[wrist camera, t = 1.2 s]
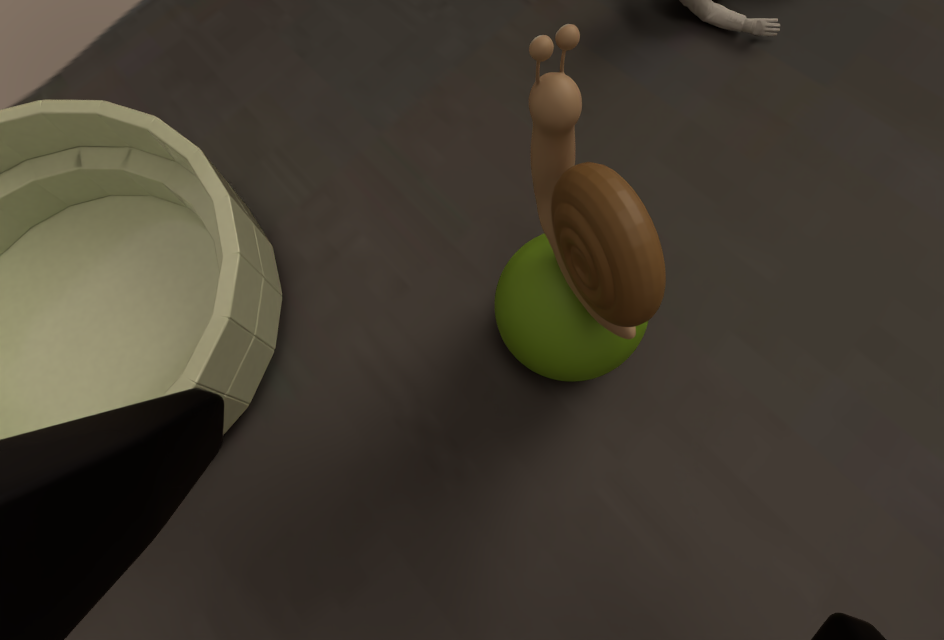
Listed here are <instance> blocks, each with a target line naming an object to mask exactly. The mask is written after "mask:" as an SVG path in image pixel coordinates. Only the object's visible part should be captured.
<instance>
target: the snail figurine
mask: <svg viewBox="0 0 944 640" xmlns="http://www.w3.org/2000/svg"><path fill="white" fill-rule="evenodd" d="M579 39H580V34H579V30H578V28H577V27H576V26H574V25H572V24H567V25H564V26H562V27H561V28H560V29H559V30H558V31H557V33H556V38H555V41H556V44H557V46H558V47H559V48H560V49H562V50H563V51H562V56H561V64H560V72H551V73H547V74H544V75H543V76H541V77H540V75H539V69H540V61H545V60H547V59H548V58H550V56H551V55H552V53H553V48H554V46H553V42H552V40H551V39H550V38H549V37H548V36H546V35H540V36H538V37H536V38H535V39H534V40H533V41H532V42H531V44H530V47H529V52H530V55H531V57H532V58H533V59H534V60H536V61H537V66H536V82H535V83H534V85H533V87H532V89H531V91H530V95H529V110H530V114H531V117H532V121H533V132H532V139H531V170H532V178H533V186H534V193H535V197H536V203H537V209H538V215H539V219H540V223H541V226H542V229H543V231H544V233H545V234H542V235H540V236H538V237H536V238H534V239H532V240H531V241H529V242H528V243H526V244H525V245H524V246H522V247H521V248H520V249H519V250H518V251H517V252H516V253H515V254H514V255H513V256H512V258H511V259H510V260H509V262H508V263H507V265H506V266H505V268H504V270H503V272H502V274H501V276H500V279H499V281H498V285H497V289H496V294H495V317H496V322H497V326H498V329H499V332H500V334H501V337H502V339H503V341H504V343H505V344H506V346H507V347H508V349H509V350H510V352H511V353H512V354H513V355H514V356H515V357H516V358H517V359H518V360H519V361H520V362H521V363H522V364H523V365H525V366H526V367H527V368H529V369H530V370H532V371H534V372H535V373H537V374H540V375H542V376H544V377H547V378H551V379H554V380H560V381H584V380H590V379H593V378H597V377H600V376H602V375H604V374H607V373H608V372H610V371H612V370H614V369H615V368H617V367H618V366H620V365H621V364H622V363H623V362H624V361H625V360H627V359H628V358H629V356H630V355H631V354H632V353H633V352H634V351H635V349H636V348H637V346H638V345H639V343H640V341H641V339H642V337H643V335H644V333H645V330H646V327H647V324H648V320H649V319H650V318H652V317H653V315H654V314H655V313H656V312H657V310H658V308H659V307H660V304H661V302H662V299H663V296H664V291H665V281H666V277H665V263H664V257H663V252H662V248H661V244H660V241H659V237H658V234H657V232H656V229H655V227H654V224H653V222H652V220H651V218H650V216H649V214H648V212H647V210H646V208H645V206H644V204H643V203H642V201H641V200H640V198H639V197H638V195H637V194H636V192H635V191H634V190H633V189H632V187H631V186H630V185H629V184H628V183H627V182H626V181H625V180H624V179H623V178H622V177H621V176H620V175H619V174H617V173H616V172H615V171H614V170H612V169H610V168H608V167H607V166H604V165H601V164H596V163H591V162H586V163H581V164H578V165H575V132H574V125H575V124H576V122H577V121H578V119H579V117H580V114H581V109H582V98H581V94H580V91H579V88H578V87H577V85H576V83H575V82H574V81H573V80H572V79H571V78H570V77H568V76H566V75H565V74H564V59H565V53H566V51H568V50H571V49H573V48H574V47H576V45H577V44H578V42H579Z"/></svg>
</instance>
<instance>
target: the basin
mask: <svg viewBox="0 0 944 640" xmlns="http://www.w3.org/2000/svg"><path fill="white" fill-rule="evenodd" d="M281 303H282V290H281V285H280V280H279V275H278V270H277V266H276V261H275V256H274V251H273V247H272V245H271V243H270V241H269V240H268V238H267V237H266V235H265V234H264V232H263V230H262V229H261V227H260V226H259V224H258V223H257V221H256V219H255V218H254V216H253V215H252V213H251V212H250V210H249V208H248V207H247V206H246V204H245V203H244V202H243V201H242V200H241V198H240V197H239V196H238V195H237V193H236V192H235V191H234V190H233V188H232V187H231V186H230V185H229V184H228V182H227V181H226V180H225V179H224V177H223V176H222V175H221V174H220V172H219V171H218V170H217V169H216V168H215V166H214V165H213V164H212V163H211V161H210V160H209V159H208V158H207V156H206V155H205V154H204V153H203V152H202V150H200V148H198V147H197V146H196V145H194V144H193V143H192V142H190V141H189V140H188V139H186V138H185V137H183V136H182V135H181V134H179V133H178V132H177V131H175V130H174V129H173V128H171V127H170V126H169V125H167V124H166V123H164V122H163V121H162V120H160V119H159V118H157V117H156V116H153V115H149V114H146V113H143V112H140V111H136V110H133V109H130V108H127V107H123V106H120V105H117V104H114V103H110V102H107V101H104V100H103V101H101V100H39V101H35V102H31V103H27V104H23V105H19V106H15V107H11V108H6V109H2V110H0V440H1V439H4V438H8V437H12V436H16V435H19V434H23V433H27V432H31V431H34V430H38V429H42V428H46V427H49V426H53V425H57V424H61V423H64V422H68V421H72V420H76V419H79V418H83V417H87V416H91V415H94V414H98V413H102V412H106V411H109V410H113V409H117V408H121V407H124V406H128V405H132V404H136V403H139V402H143V401H147V400H151V399H154V398H158V397H162V396H166V395H169V394H173V393H177V392H181V391H184V390H188V389H192V388H202V389H205V390H207V391H210V392H213V393H216V394H219V395H220V396H221V397H222V398H223V400H224V429H223V435H224V434H225V433H226V432H227V430H228V429H229V428H230V427H231V426H232V425H233V424H234V422H235V421H236V420H237V419H238V418H239V417H240V416H241V414H242V413H243V412H244V411H245V410H246V409H247V408H248V407H249V404H250V403H251V401H252V398H253V396H254V394H255V392H256V390H257V388H258V386H259V383H260V381H261V379H262V377H263V375H264V373H265V371H266V369H267V366H268V364H269V362H270V360H271V358H272V356H273V354H274V350H275V348H276V340H277V333H278V325H279V318H280V310H281Z"/></svg>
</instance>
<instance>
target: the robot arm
mask: <svg viewBox="0 0 944 640" xmlns="http://www.w3.org/2000/svg"><path fill="white" fill-rule="evenodd" d="M223 429H224V400H223V398H222V397H221V396H220V395H219V394H216V393H213V392H210V391H207V390H205V389H202V388H192V389H188V390H184V391H181V392H177V393H173V394H169V395H166V396H162V397H158V398H154V399H151V400H147V401H143V402H139V403H136V404H132V405H128V406H124V407H121V408H117V409H113V410H109V411H106V412H102V413H98V414H94V415H91V416H87V417H83V418H79V419H76V420H72V421H68V422H64V423H61V424H57V425H53V426H49V427H46V428H42V429H38V430H34V431H31V432H27V433H23V434H19V435H16V436H12V437H8V438H4V439H1V440H0V640H64V639H65V638H66V637H67V636H68V635H69V634H70V632H71V631H72V630H73V629H74V628H75V627H76V626H77V625H78V623H79V622H80V621H81V620H82V619H83V618H84V617H85V616H86V615H87V613H88V612H89V611H90V610H91V609H92V608H93V607H94V606H95V605H96V603H97V602H98V601H99V600H100V599H101V598H102V597H103V596H104V595H105V593H106V592H107V591H108V590H109V589H110V588H111V587H112V586H113V585H114V583H115V582H116V581H117V580H118V579H119V578H120V577H121V576H122V575H123V573H124V572H125V571H126V570H127V569H128V568H129V567H130V566H131V565H132V563H133V562H134V561H135V560H136V559H137V558H138V557H139V556H140V554H141V553H142V552H143V551H144V550H145V549H146V548H147V546H148V545H149V544H150V543H151V542H152V541H153V539H154V538H155V537H156V536H157V534H158V533H159V532H160V531H161V529H162V528H163V527H164V525H165V524H166V523H167V521H168V520H169V519H170V517H171V516H172V515H173V513H174V512H175V511H176V509H177V508H178V506H179V505H180V504H181V502H182V501H183V500H184V498H185V497H186V496H187V494H188V493H189V491H190V490H191V489H192V487H193V486H194V485H195V483H196V482H197V481H198V479H199V478H200V476H201V475H202V474H203V472H204V471H205V470H206V468H207V467H208V466H209V464H210V463H211V461H212V460H213V459H214V457H215V456H216V455H217V453H218V451H219V449H220V447H221V445H222V441H223ZM811 640H886V639H885V638H884V637H883V636H882V635H881V634H880V632H879V631H878V630H877V629H876V628H875V627H874V626H873V625H871V624H870V623H868V622H866V621H863V620H860V619H858V618H855V617H852V616H849V615H846V614H843V613H834V614H832V615H830V616H829V617H828V619H827V620H826V621H825V622H824V624H823V625H822V626H821V628H820V629H819V630H818V631H817V633H816V634H815V635H814V637H813V638H812V639H811Z"/></svg>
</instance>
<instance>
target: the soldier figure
mask: <svg viewBox="0 0 944 640" xmlns="http://www.w3.org/2000/svg"><path fill="white" fill-rule="evenodd" d="M679 1H680V2H681V3H683V5H684V6H687V7H688V8H689V9H690V11H691V12H693V13H694V14H695V15H696V16H698V17H699V19H701V20H702V21H703V22H707V23H709V24H711V25H714V26H717V27H719V28H722V29H727V30H732V31H737V32H739V33H741V31H744V32H747V33H751V34H753V35H755V36H758V35H760V36H776V35H777V33H770V32H778V31H779V30H780V29H778V28H767V27H780V24H776V23H768V22H777V21H778V19H763V18H761V19H759V18H756V19H748V18H746V16H744V15H742V14H738V13H736V12H734V11H731V10H728V9H727V8H725V7H724V6H722V5H720V4H717V3H714V2H713V1H712V0H679ZM766 31H767V32H766Z"/></svg>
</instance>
